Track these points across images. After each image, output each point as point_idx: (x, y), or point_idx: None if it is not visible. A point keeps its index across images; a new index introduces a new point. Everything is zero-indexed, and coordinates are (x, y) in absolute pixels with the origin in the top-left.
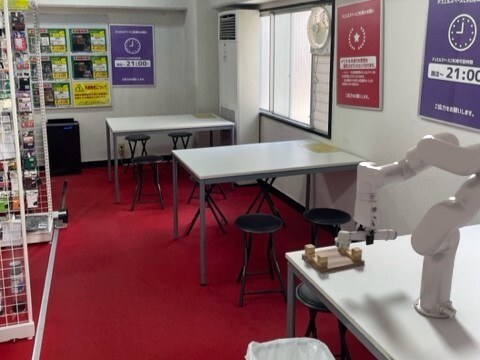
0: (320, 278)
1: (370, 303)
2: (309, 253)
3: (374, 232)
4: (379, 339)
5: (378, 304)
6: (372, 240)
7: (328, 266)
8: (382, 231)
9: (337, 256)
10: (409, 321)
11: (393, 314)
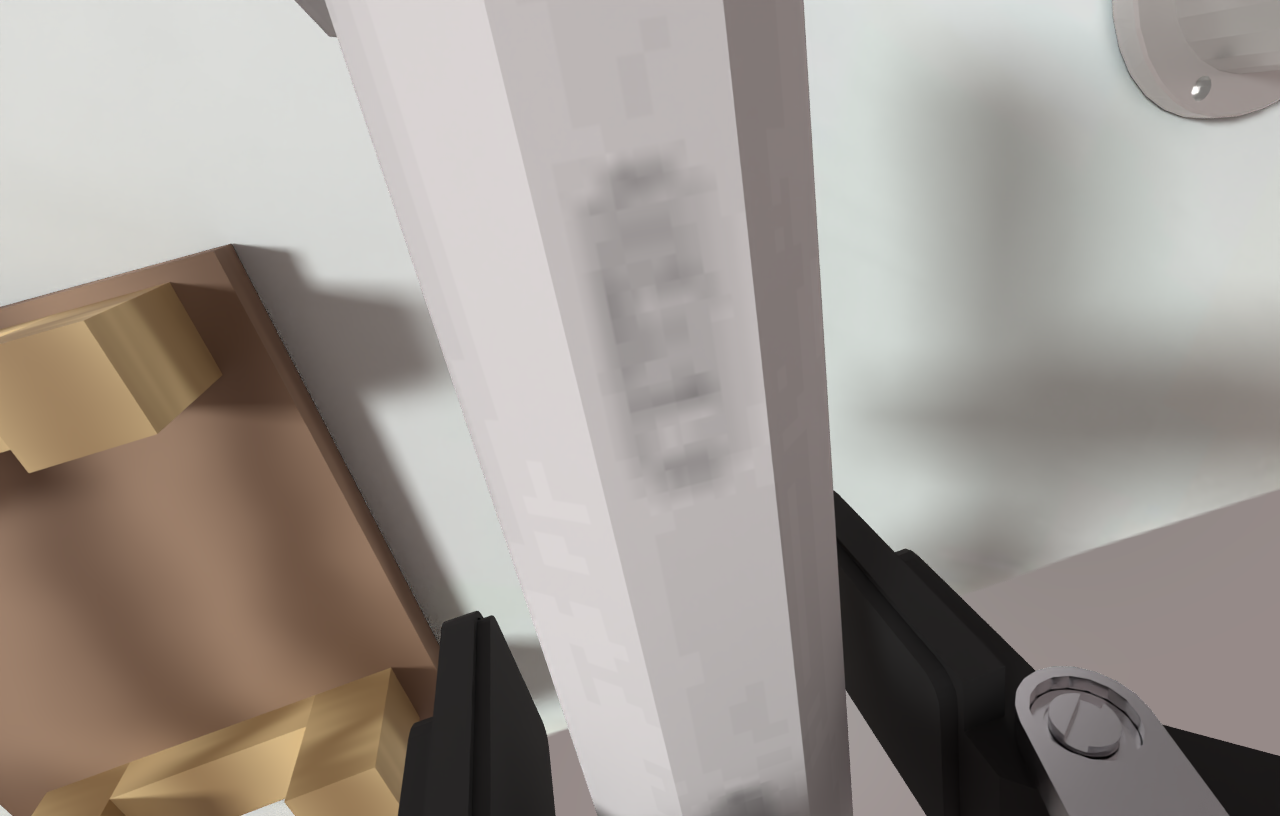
0: (553, 695)
1: (984, 428)
2: None
3: (1261, 795)
4: (1274, 481)
5: (1016, 377)
6: (938, 593)
7: (386, 659)
8: (752, 220)
9: (78, 550)
10: (1256, 245)
11: (1151, 319)
